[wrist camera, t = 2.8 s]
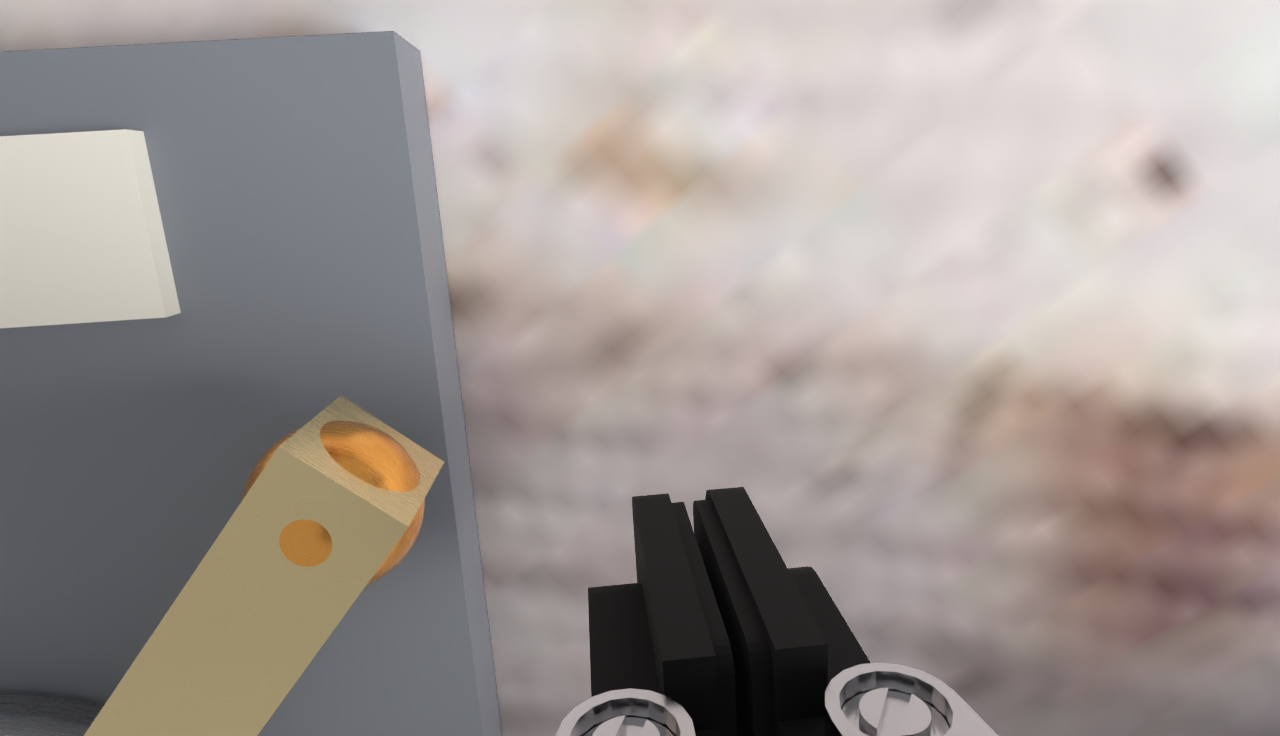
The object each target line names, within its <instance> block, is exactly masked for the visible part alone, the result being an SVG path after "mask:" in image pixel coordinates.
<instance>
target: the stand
mask: <svg viewBox="0 0 1280 736" xmlns="http://www.w3.org/2000/svg"><path fill="white" fill-rule="evenodd" d="M341 395H342V396H343V397H345V398H346V399H348V400H349V401H351V402H352V403H354V404H355V405H357V406H359V407H360V408H362V409H363V410H365V411H366V412H368V413H369V414H371V415H373V416H374V417H376V418H377V419H379V420H380V421H382V422H383V423H385V424H387V425H388V426H390V427H391V428H393V429H394V430H396V431H397V432H399V433H400V434H402V435H404V436H405V437H407V438H408V439H410V440H411V441H413V442H414V443H416V444H418V445H419V446H421V447H422V448H424V449H425V450H427V451H428V452H430V453H432V454H433V455H435V456H436V457H438V458H439V459H441V460H442V461H444V464H443V466H442V468H441V469H440V471H439V473H438V475H437V477H436V478H435V480H434V482H433V484H432V486H431V487H430V489H429V491H428V493H427V495H426V496H425V509H424V517H423V521H422V525H421V528H420V531H419V534H418V536H417V538H416V540H415V542H414V544H413V546H412V547H411V549H410V550H409V552H408V553H407V555H406V556H405V557H404V558H403V560H402V561H401V562H400V563H399V564H398V565H397V566H396V567H395V568H393V569H392V570H391V571H390V572H389V573H388V574H386V575H385V576H384V577H382V578H381V579H379V580H377V581H375V582H373V583H371V584H369V585H367V586H365V588H364V589H363V591H362V592H361V593H360V595H359V596H358V597H357V599H356V600H355V602H354V603H353V604H352V606H351V607H350V608H349V610H348V611H347V613H346V614H345V615H344V617H343V618H342V620H341V621H340V622H339V624H338V625H337V626H336V628H335V629H334V631H333V632H332V633H331V635H330V636H329V637H328V639H327V640H326V642H325V643H324V644H323V646H322V647H321V648H320V650H319V651H318V653H317V654H316V655H315V657H314V658H313V659H312V661H311V662H310V664H309V665H308V666H307V668H306V669H305V671H304V672H303V673H302V675H301V676H300V677H299V679H298V680H297V682H296V683H295V684H294V686H293V687H292V688H291V690H290V691H289V693H288V694H287V695H286V697H285V698H284V699H283V701H282V702H281V704H280V705H279V706H278V708H277V709H276V710H275V712H274V713H273V715H272V716H271V717H270V719H269V720H268V722H267V723H266V724H265V726H264V727H263V728H262V730H261V731H260V733H259V734H258V735H257V736H502V730H501V722H500V714H499V705H498V697H497V689H496V680H495V672H494V664H493V655H492V647H491V638H490V630H489V622H488V613H487V605H486V597H485V588H484V580H483V572H482V563H481V555H480V547H479V538H478V530H477V522H476V513H475V505H474V497H473V488H472V480H471V472H470V463H469V455H468V447H467V438H466V430H465V422H464V413H463V405H462V397H461V388H460V380H459V372H458V363H457V355H456V347H455V338H454V330H453V322H452V313H451V305H450V297H449V288H448V280H447V272H446V263H445V255H444V247H443V238H442V230H441V222H440V213H439V205H438V197H437V188H436V180H435V172H434V163H433V155H432V147H431V138H430V130H429V122H428V113H427V105H426V97H425V88H424V80H423V72H422V63H421V55H420V51H419V50H418V49H417V48H415V47H414V46H413V45H411V44H410V43H409V42H407V41H406V40H405V39H403V38H402V37H401V36H399V35H398V34H397V33H395V32H394V31H385V32H366V33H347V34H328V35H309V36H290V37H271V38H252V39H233V40H214V41H194V42H175V43H156V44H137V45H118V46H99V47H80V48H61V49H42V50H23V51H4V52H0V694H33V695H42V696H51V697H59V698H68V699H72V700H77V701H81V702H86V703H90V704H95V705H99V706H104V705H105V703H106V702H107V700H108V699H109V697H110V696H111V694H112V693H113V692H114V690H115V689H116V687H117V686H118V684H119V683H120V681H121V680H122V678H123V677H124V675H125V674H126V672H127V671H128V669H129V668H130V666H131V665H132V663H133V662H134V660H135V659H136V657H137V656H138V654H139V653H140V651H141V650H142V649H143V647H144V646H145V644H146V643H147V641H148V640H149V638H150V637H151V635H152V634H153V632H154V631H155V629H156V628H157V626H158V625H159V623H160V622H161V620H162V619H163V617H164V616H165V614H166V613H167V611H168V610H169V608H170V607H171V606H172V604H173V603H174V601H175V600H176V598H177V597H178V595H179V594H180V592H181V591H182V589H183V588H184V586H185V585H186V583H187V582H188V580H189V579H190V577H191V576H192V574H193V573H194V571H195V570H196V568H197V567H198V565H199V564H200V563H201V561H202V560H203V558H204V557H205V555H206V554H207V552H208V551H209V549H210V548H211V546H212V545H213V543H214V542H215V540H216V539H217V537H218V536H219V534H220V533H221V531H222V530H223V528H224V527H225V525H226V524H227V522H228V521H229V520H230V518H231V517H232V515H233V514H234V512H235V511H236V509H237V508H238V506H239V505H240V503H241V500H242V495H243V491H244V487H245V484H246V481H247V479H248V477H249V475H250V473H251V471H252V470H253V468H254V466H255V464H256V463H257V462H258V460H259V459H260V458H261V456H262V455H263V454H264V453H265V452H266V451H267V450H268V449H269V448H270V447H271V446H272V445H273V444H274V443H276V442H277V441H278V440H280V439H281V438H283V437H284V436H286V435H287V434H289V433H291V432H293V431H295V430H297V429H299V428H302V427H303V426H304V425H306V424H307V423H308V422H309V421H310V420H312V419H313V418H314V417H315V416H317V415H318V414H319V413H320V412H321V411H323V410H324V409H325V408H326V407H327V406H329V405H330V404H331V403H332V402H334V401H335V400H336V399H337V398H338V397H340V396H341Z"/></svg>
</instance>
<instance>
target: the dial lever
mask: <svg viewBox="0 0 1280 736" xmlns="http://www.w3.org/2000/svg"><path fill="white" fill-rule="evenodd" d="M443 464H444V461H442V460H441V459H439V458H438V457H436V456H435V455H433V454H432V453H430V452H428V451H427V450H425V449H424V448H422V447H421V446H419V445H418V444H416V443H414V442H413V441H411V440H410V439H408V438H407V437H405V436H404V435H402V434H400V433H399V432H397V431H396V430H394V429H393V428H391V427H390V426H388V425H387V424H385V423H383V422H382V421H380V420H379V419H377V418H376V417H374V416H373V415H371V414H369V413H368V412H366V411H365V410H363V409H362V408H360V407H359V406H357V405H355V404H354V403H352V402H351V401H349V400H348V399H346V398H345V397H343V396H342V395H341V396H340V397H338V398H337V399H336V400H335V401H334V402H332V403H331V404H330V405H329V406H327V407H326V408H325V409H324V410H323V411H321V412H320V413H319V414H318V415H317V416H315V417H314V418H313V419H312V420H310V421H309V422H308V423H307V424H306V425H304V426H303V427H302V428H299V429H297V430H295V431H293V432H291V433H289V434H287V435H286V436H284V437H283V438H281V439H280V440H278V441H277V442H276V443H274V444H273V445H272V446H271V447H270V448H269V449H268V450H267V451H266V452H265V453H264V454H263V455H262V456H261V458H260V459H259V460H258V462H257V463H256V464H255V466H254V468H253V470H252V471H251V473H250V475H249V477H248V479H247V481H246V484H245V487H244V491H243V495H242V500H241V503H240V505H239V506H238V508H237V509H236V511H235V512H234V514H233V515H232V517H231V518H230V520H229V521H228V522H227V524H226V525H225V527H224V528H223V530H222V531H221V533H220V534H219V536H218V537H217V539H216V540H215V542H214V543H213V545H212V546H211V548H210V549H209V551H208V552H207V554H206V555H205V557H204V558H203V560H202V561H201V563H200V564H199V565H198V567H197V568H196V570H195V571H194V573H193V574H192V576H191V577H190V579H189V580H188V582H187V583H186V585H185V586H184V588H183V589H182V591H181V592H180V594H179V595H178V597H177V598H176V600H175V601H174V603H173V604H172V606H171V607H170V608H169V610H168V611H167V613H166V614H165V616H164V617H163V619H162V620H161V622H160V623H159V625H158V626H157V628H156V629H155V631H154V632H153V634H152V635H151V637H150V638H149V640H148V641H147V643H146V644H145V646H144V647H143V649H142V650H141V651H140V653H139V654H138V656H137V657H136V659H135V660H134V662H133V663H132V665H131V666H130V668H129V669H128V671H127V672H126V674H125V675H124V677H123V678H122V680H121V681H120V683H119V684H118V686H117V687H116V689H115V690H114V692H113V693H112V694H111V696H110V697H109V699H108V700H107V702H106V703H105V705H104V706H99V705H95V704H90V703H86V702H81V701H77V700H72V699H68V698H59V697H51V696H42V695H33V694H0V736H257V735H258V734H259V733H260V731H261V730H262V728H263V727H264V726H265V724H266V723H267V722H268V720H269V719H270V717H271V716H272V715H273V713H274V712H275V710H276V709H277V708H278V706H279V705H280V704H281V702H282V701H283V699H284V698H285V697H286V695H287V694H288V693H289V691H290V690H291V688H292V687H293V686H294V684H295V683H296V682H297V680H298V679H299V677H300V676H301V675H302V673H303V672H304V671H305V669H306V668H307V666H308V665H309V664H310V662H311V661H312V659H313V658H314V657H315V655H316V654H317V653H318V651H319V650H320V648H321V647H322V646H323V644H324V643H325V642H326V640H327V639H328V637H329V636H330V635H331V633H332V632H333V631H334V629H335V628H336V626H337V625H338V624H339V622H340V621H341V620H342V618H343V617H344V615H345V614H346V613H347V611H348V610H349V608H350V607H351V606H352V604H353V603H354V602H355V600H356V599H357V597H358V596H359V595H360V593H361V592H362V591H363V589H364V588H365V586H367V585H369V584H371V583H373V582H375V581H377V580H379V579H381V578H382V577H384V576H385V575H386V574H388V573H389V572H390V571H391V570H392V569H393V568H395V567H396V566H397V565H398V564H399V563H400V562H401V561H402V560H403V558H404V557H405V556H406V555H407V553H408V552H409V550H410V549H411V547H412V546H413V544H414V542H415V540H416V538H417V536H418V534H419V531H420V528H421V525H422V521H423V517H424V509H425V496H426V495H427V493H428V491H429V489H430V487H431V486H432V484H433V482H434V480H435V478H436V477H437V475H438V473H439V471H440V469H441V468H442V466H443Z"/></svg>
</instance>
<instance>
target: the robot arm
mask: <svg viewBox="0 0 1280 736" xmlns="http://www.w3.org/2000/svg"><path fill="white" fill-rule="evenodd" d="M632 506H633V522H634V537H635V553H636V568H637V583H633V584H623V585H612V586H602V587H592V588H588V600H589V631H590V662H591V693H592V697H590V698H589V699H587V700H585V701H584V702H582V703H581V704H579V705H577V706H576V707H574V708H573V709H572V711H571V712H570V713H569V714H568V715H567V716H566V717H565V718H564V719H563V720H562V722H561V724H560V727H559V729H558V731H557V733H556V736H998V735H997V734H996V733H995V732H994V731H993V729H992V728H991V727H990V726H989V725H988V724H987V723H986V722H985V721H984V720H983V719H982V718H981V717H980V716H979V715H978V714H977V713H976V712H975V711H974V710H973V709H972V708H971V707H970V706H969V705H968V704H967V703H966V702H965V701H964V700H963V699H962V698H961V697H960V696H959V695H958V694H957V693H956V692H955V691H954V690H953V689H951V688H950V687H949V686H948V685H946V684H945V683H944V682H943V681H941V680H940V679H938V678H936V677H934V676H932V675H930V674H928V673H926V672H924V671H922V670H919V669H915V668H912V667H908V666H905V665H901V664H892V663H882V662H877V663H870V661H869V660H868V658H867V656H866V655H865V653H864V651H863V650H862V648H861V646H860V645H859V643H858V641H857V640H856V638H855V637H854V635H853V633H852V632H851V630H850V628H849V627H848V625H847V623H846V622H845V620H844V618H843V617H842V615H841V613H840V612H839V610H838V608H837V607H836V605H835V603H834V602H833V600H832V598H831V597H830V595H829V593H828V592H827V590H826V588H825V587H824V585H823V584H822V582H821V580H820V579H819V577H818V575H817V574H816V572H815V571H814V570H813V568H812V567H800V568H789V569H787V567H786V565H785V563H784V561H783V560H782V558H781V556H780V554H779V552H778V550H777V548H776V546H775V545H774V543H773V541H772V539H771V537H770V535H769V533H768V532H767V530H766V528H765V526H764V524H763V522H762V520H761V519H760V517H759V515H758V513H757V511H756V509H755V507H754V506H753V504H752V502H751V500H750V498H749V496H748V494H747V493H746V491H745V489H744V488H743V487H738V488H727V489H716V490H707V492H706V500H700V501H694V504H693V516H694V532H693V529H692V526H691V523H690V520H689V517H688V514H687V511H686V508H685V505H684V503H683V502H677V503H671V501H670V497H669V494H659V495H648V496H637V497H632Z"/></svg>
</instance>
